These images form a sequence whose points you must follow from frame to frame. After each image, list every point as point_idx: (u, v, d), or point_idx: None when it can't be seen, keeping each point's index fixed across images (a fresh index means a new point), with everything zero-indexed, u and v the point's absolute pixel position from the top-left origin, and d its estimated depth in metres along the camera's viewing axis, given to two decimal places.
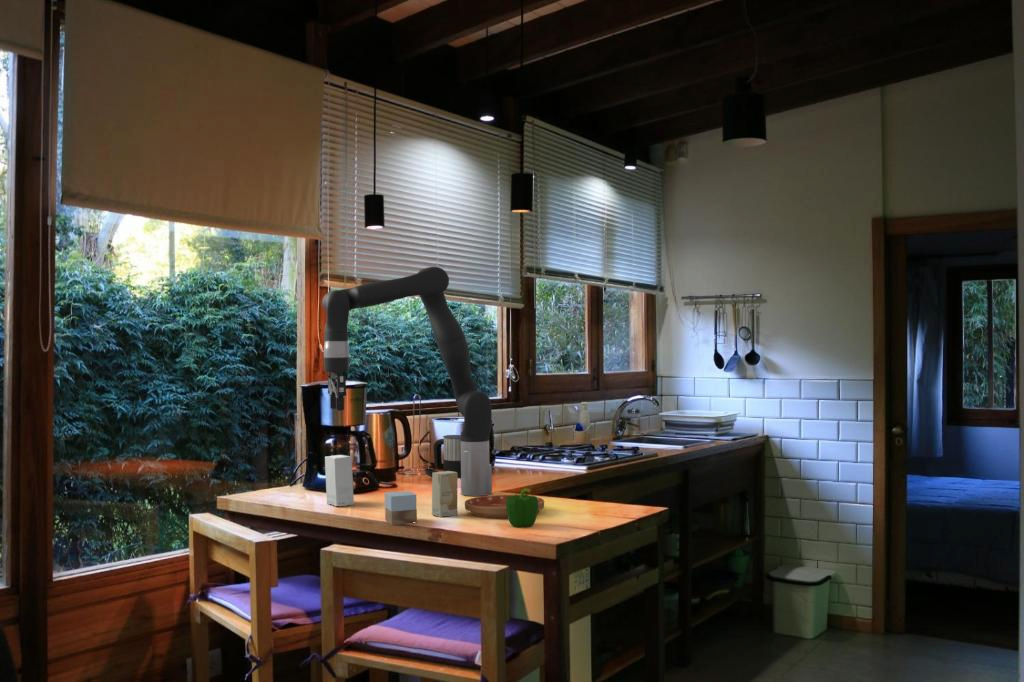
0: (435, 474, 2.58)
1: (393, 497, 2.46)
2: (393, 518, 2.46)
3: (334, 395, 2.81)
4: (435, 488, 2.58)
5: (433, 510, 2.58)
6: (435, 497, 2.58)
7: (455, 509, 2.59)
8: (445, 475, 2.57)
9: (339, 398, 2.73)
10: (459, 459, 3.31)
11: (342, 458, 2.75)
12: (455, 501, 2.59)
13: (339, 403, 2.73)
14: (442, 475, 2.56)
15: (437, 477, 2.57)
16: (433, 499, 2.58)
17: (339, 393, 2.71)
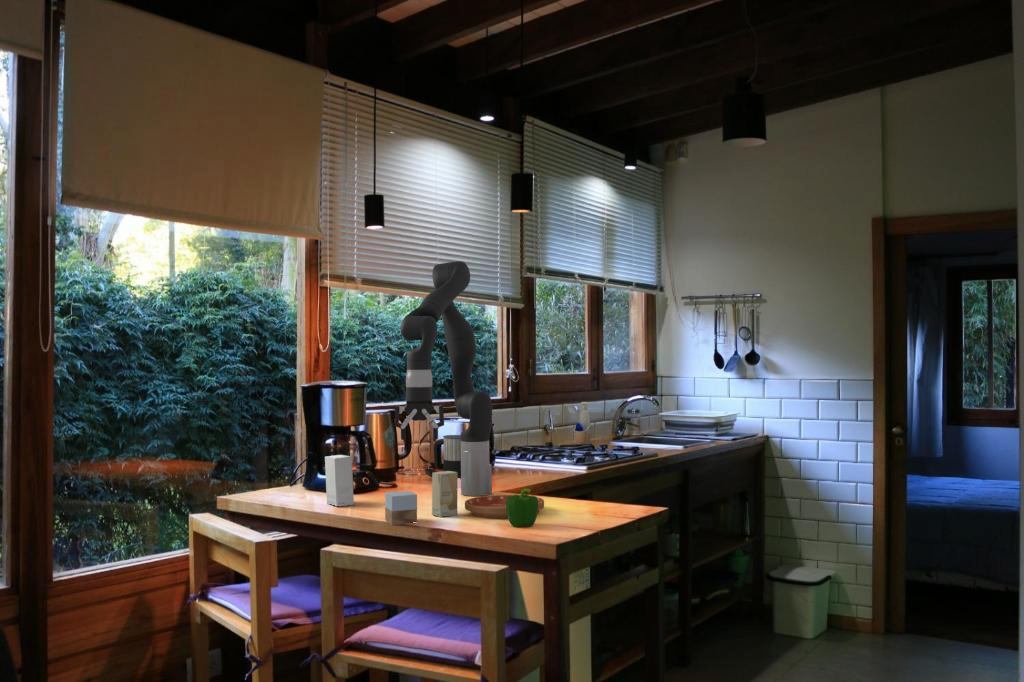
0: (435, 474, 2.58)
1: (394, 497, 2.46)
2: (393, 518, 2.46)
3: None
4: (435, 488, 2.58)
5: (433, 510, 2.58)
6: (435, 497, 2.58)
7: (455, 509, 2.59)
8: (445, 475, 2.57)
9: None
10: (459, 459, 3.31)
11: (342, 458, 2.75)
12: (455, 501, 2.59)
13: (437, 433, 2.64)
14: (442, 475, 2.57)
15: (437, 477, 2.57)
16: (434, 499, 2.58)
17: None
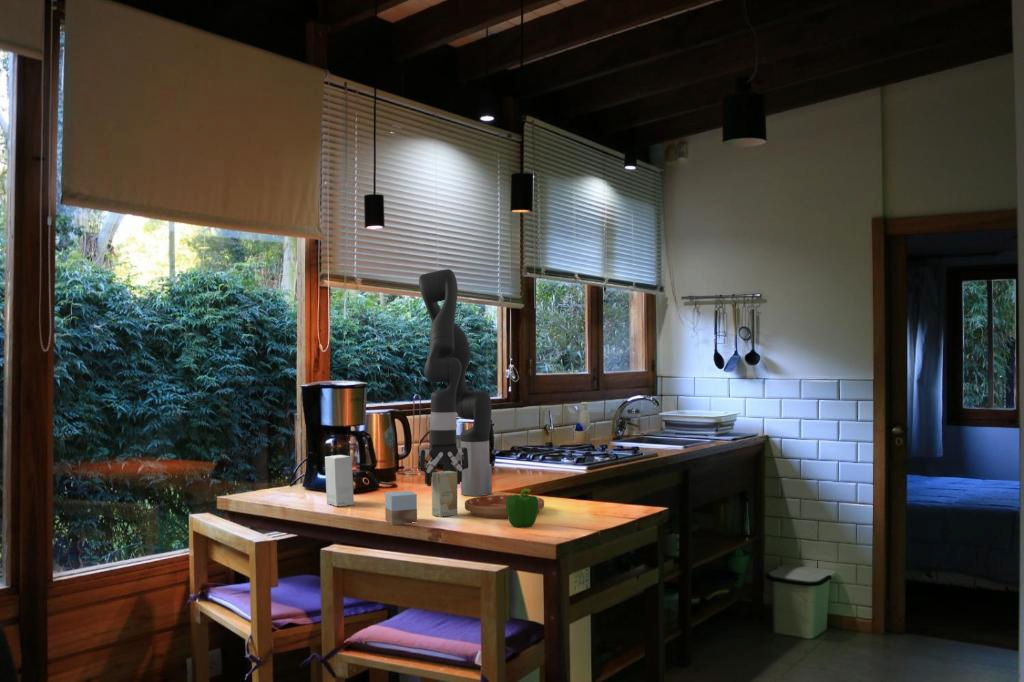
0: (435, 474, 2.58)
1: (393, 497, 2.46)
2: (393, 518, 2.46)
3: None
4: (435, 488, 2.58)
5: (433, 510, 2.58)
6: (435, 497, 2.58)
7: (455, 509, 2.59)
8: (445, 475, 2.57)
9: None
10: (459, 459, 3.31)
11: (342, 458, 2.75)
12: (455, 501, 2.59)
13: None
14: (442, 475, 2.56)
15: (437, 477, 2.57)
16: (433, 499, 2.58)
17: None
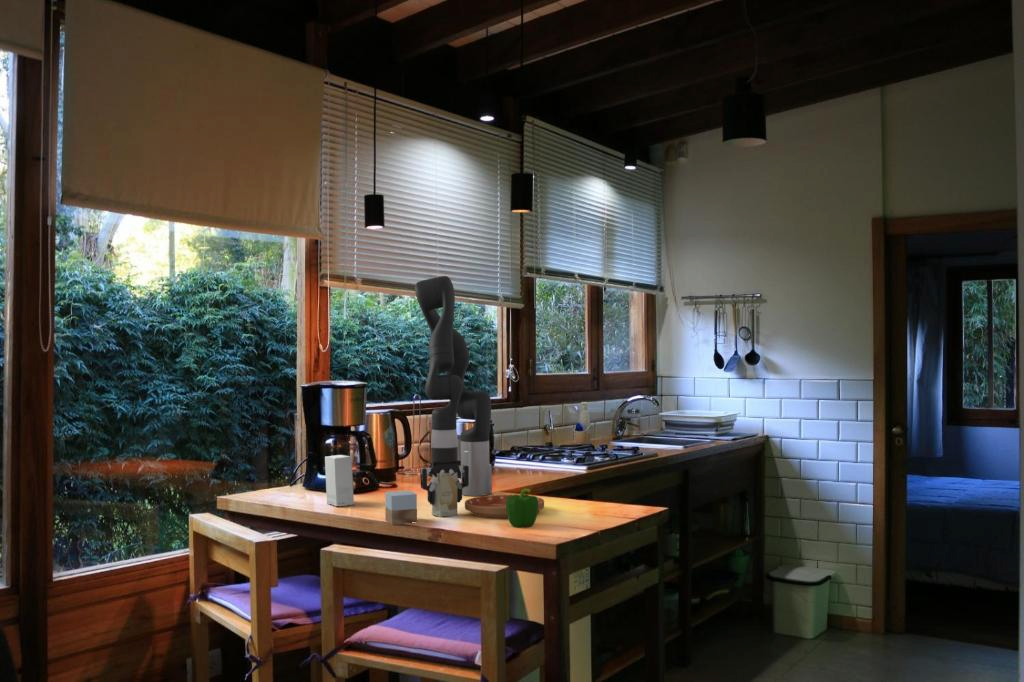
0: None
1: (393, 496, 2.47)
2: (393, 518, 2.47)
3: None
4: (435, 488, 2.58)
5: (433, 510, 2.58)
6: (435, 497, 2.58)
7: (455, 509, 2.59)
8: (445, 475, 2.57)
9: None
10: (459, 459, 3.31)
11: (342, 458, 2.75)
12: (455, 501, 2.59)
13: None
14: (442, 475, 2.56)
15: None
16: (434, 499, 2.58)
17: None
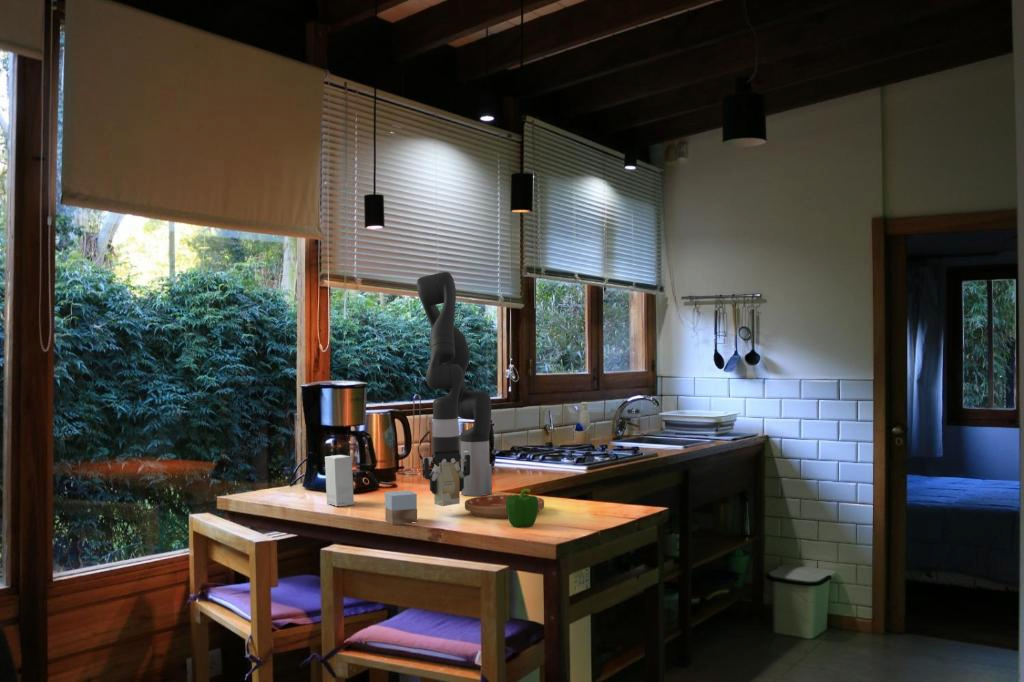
0: None
1: (393, 496, 2.47)
2: (393, 518, 2.47)
3: None
4: (437, 477, 2.58)
5: (435, 499, 2.59)
6: (437, 486, 2.58)
7: (457, 498, 2.60)
8: (447, 464, 2.57)
9: None
10: None
11: (342, 458, 2.75)
12: (457, 490, 2.60)
13: None
14: (444, 464, 2.57)
15: None
16: None
17: None
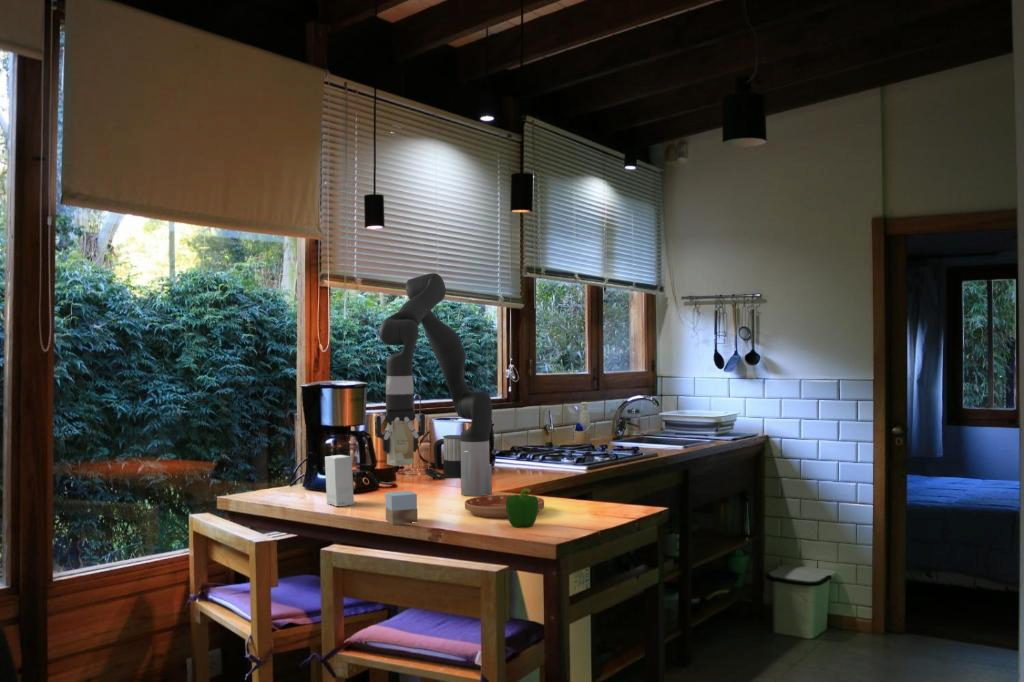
0: None
1: (393, 496, 2.47)
2: (394, 518, 2.47)
3: None
4: (390, 436, 2.49)
5: (388, 459, 2.50)
6: (390, 446, 2.49)
7: (411, 458, 2.51)
8: (400, 423, 2.48)
9: None
10: (459, 459, 3.31)
11: (342, 458, 2.75)
12: (411, 450, 2.51)
13: (417, 443, 2.52)
14: (397, 423, 2.48)
15: None
16: None
17: None
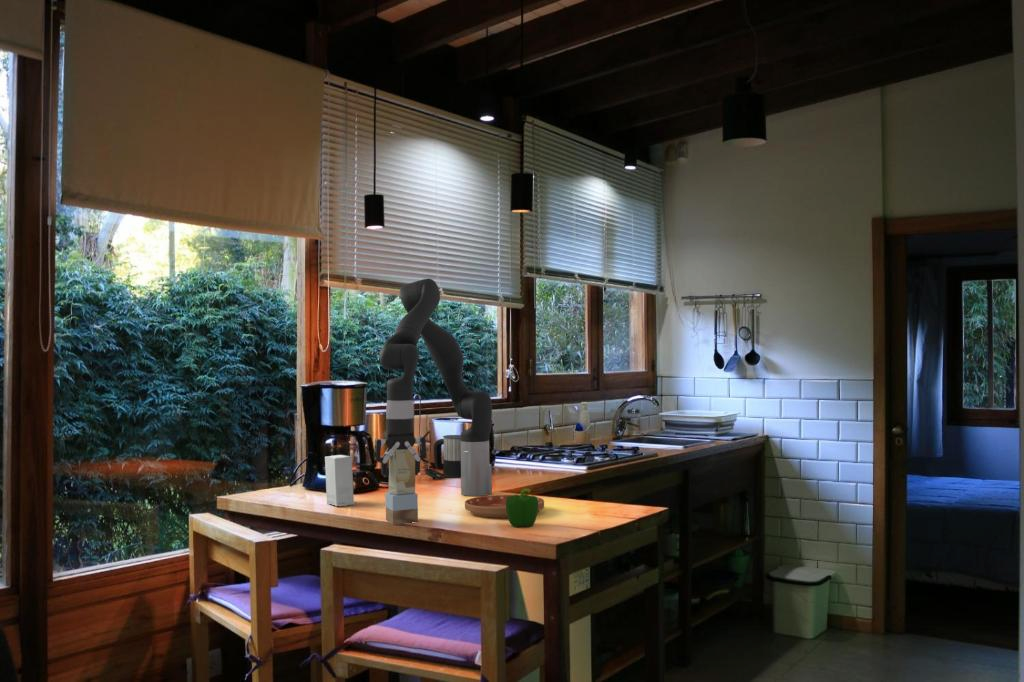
0: None
1: (395, 496, 2.47)
2: (394, 518, 2.46)
3: None
4: (391, 465, 2.49)
5: (390, 488, 2.50)
6: (391, 474, 2.49)
7: (413, 487, 2.51)
8: (402, 451, 2.48)
9: None
10: (459, 459, 3.31)
11: (342, 458, 2.75)
12: (413, 479, 2.51)
13: (419, 466, 2.52)
14: (398, 451, 2.48)
15: (393, 453, 2.49)
16: (390, 476, 2.50)
17: None
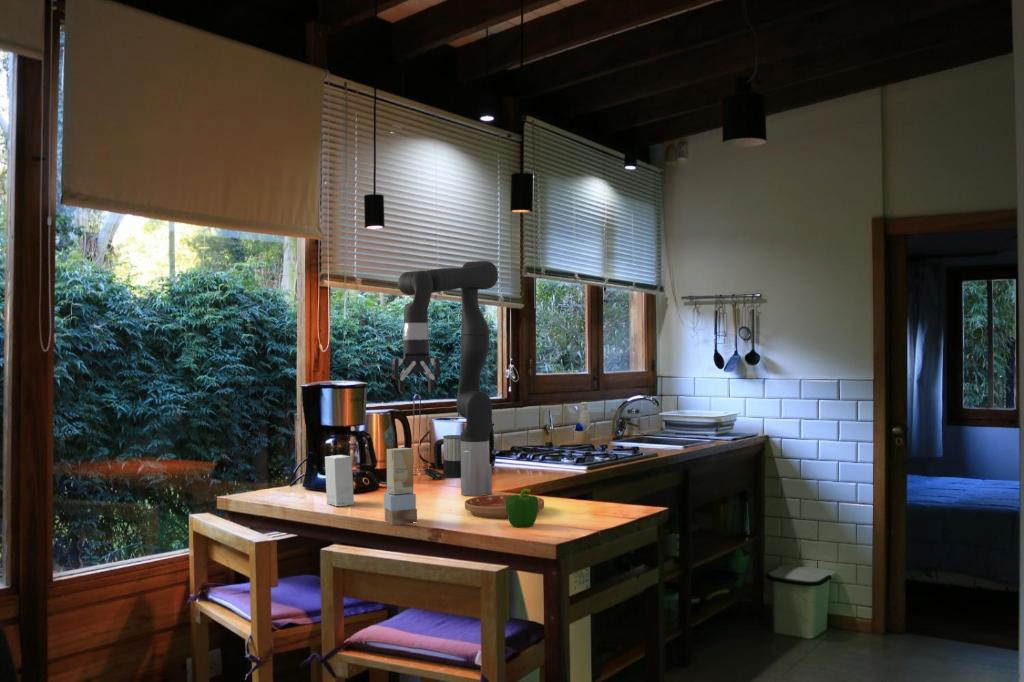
0: (389, 450, 2.50)
1: (393, 497, 2.46)
2: (393, 518, 2.46)
3: None
4: (389, 465, 2.49)
5: (388, 488, 2.50)
6: (389, 474, 2.49)
7: (411, 487, 2.50)
8: (399, 451, 2.48)
9: None
10: (459, 459, 3.31)
11: (342, 458, 2.75)
12: (410, 478, 2.50)
13: None
14: (395, 451, 2.48)
15: (390, 453, 2.49)
16: (388, 476, 2.50)
17: None
